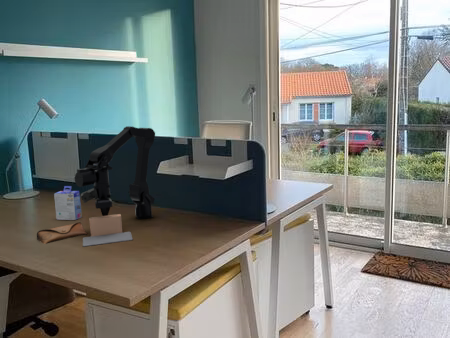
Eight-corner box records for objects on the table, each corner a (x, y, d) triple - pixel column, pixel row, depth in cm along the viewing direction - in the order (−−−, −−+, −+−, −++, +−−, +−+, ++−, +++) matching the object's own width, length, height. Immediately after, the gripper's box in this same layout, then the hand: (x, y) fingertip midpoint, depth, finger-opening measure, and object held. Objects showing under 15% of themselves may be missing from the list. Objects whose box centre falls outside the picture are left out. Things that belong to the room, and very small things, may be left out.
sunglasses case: (43, 244, 166) (38, 227, 168) (39, 249, 171) (35, 233, 173) (89, 233, 177) (85, 217, 179) (85, 238, 182) (80, 223, 184)
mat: (130, 232, 177) (130, 231, 177) (132, 240, 167) (132, 239, 167) (83, 238, 172) (82, 237, 172) (82, 246, 162) (82, 246, 162)
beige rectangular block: (121, 230, 180) (120, 213, 178) (122, 232, 177) (121, 215, 176) (91, 234, 176) (89, 217, 175) (91, 236, 173) (89, 219, 172)
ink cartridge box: (82, 216, 201) (79, 185, 199) (76, 220, 196) (73, 188, 193) (62, 216, 203) (59, 185, 201) (56, 220, 198) (52, 188, 195)
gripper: (81, 179, 185) (84, 215, 188) (80, 188, 167) (84, 228, 170) (108, 177, 188) (111, 212, 191) (110, 186, 170) (113, 225, 173)
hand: (105, 219), depth 181 cm, fingers closed
